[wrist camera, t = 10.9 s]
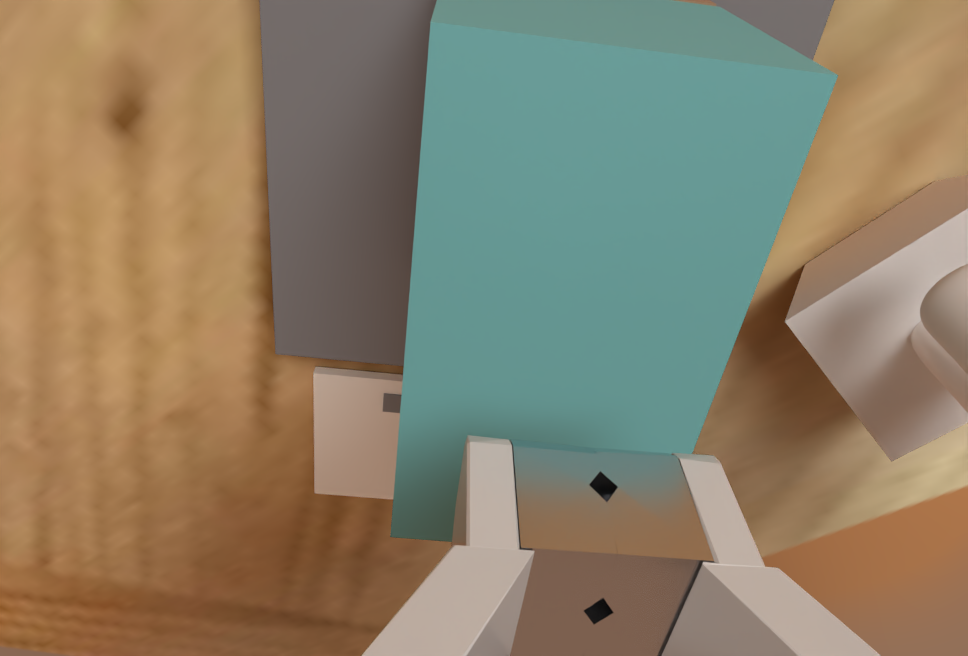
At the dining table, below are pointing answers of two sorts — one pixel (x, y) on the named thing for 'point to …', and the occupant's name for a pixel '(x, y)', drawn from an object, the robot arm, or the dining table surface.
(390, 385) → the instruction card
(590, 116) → the teal block
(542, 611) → the robot arm
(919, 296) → the figurine
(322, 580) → the dining table surface
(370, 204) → the baseplate
